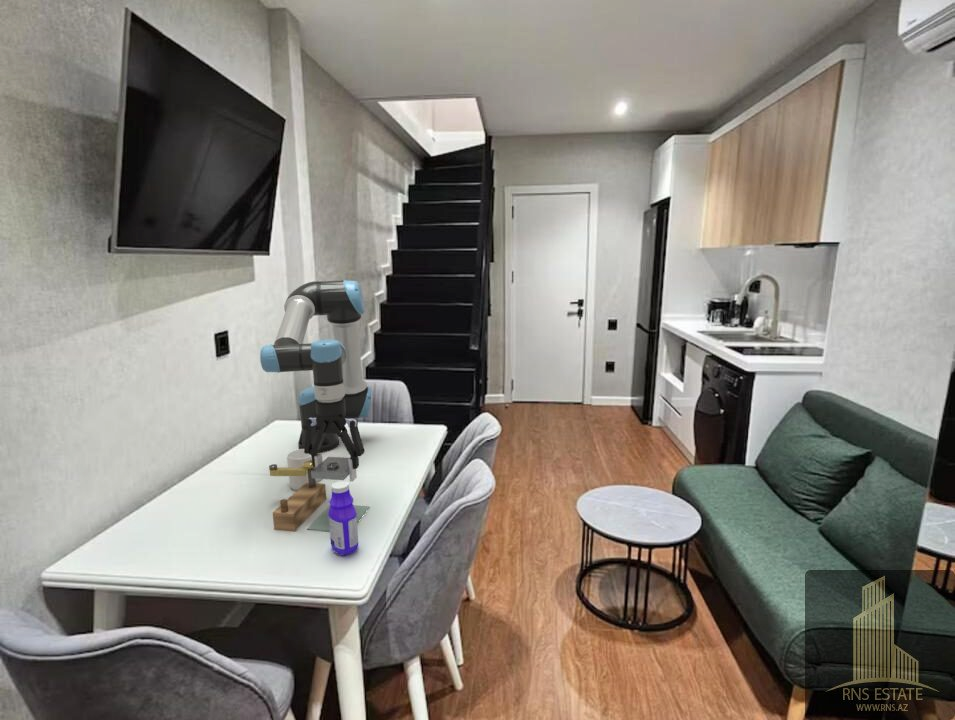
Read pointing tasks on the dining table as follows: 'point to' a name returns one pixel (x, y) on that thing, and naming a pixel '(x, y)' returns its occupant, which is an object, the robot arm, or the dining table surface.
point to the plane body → (299, 505)
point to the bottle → (342, 520)
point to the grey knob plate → (332, 469)
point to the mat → (323, 519)
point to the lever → (291, 470)
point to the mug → (296, 461)
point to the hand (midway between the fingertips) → (336, 478)
